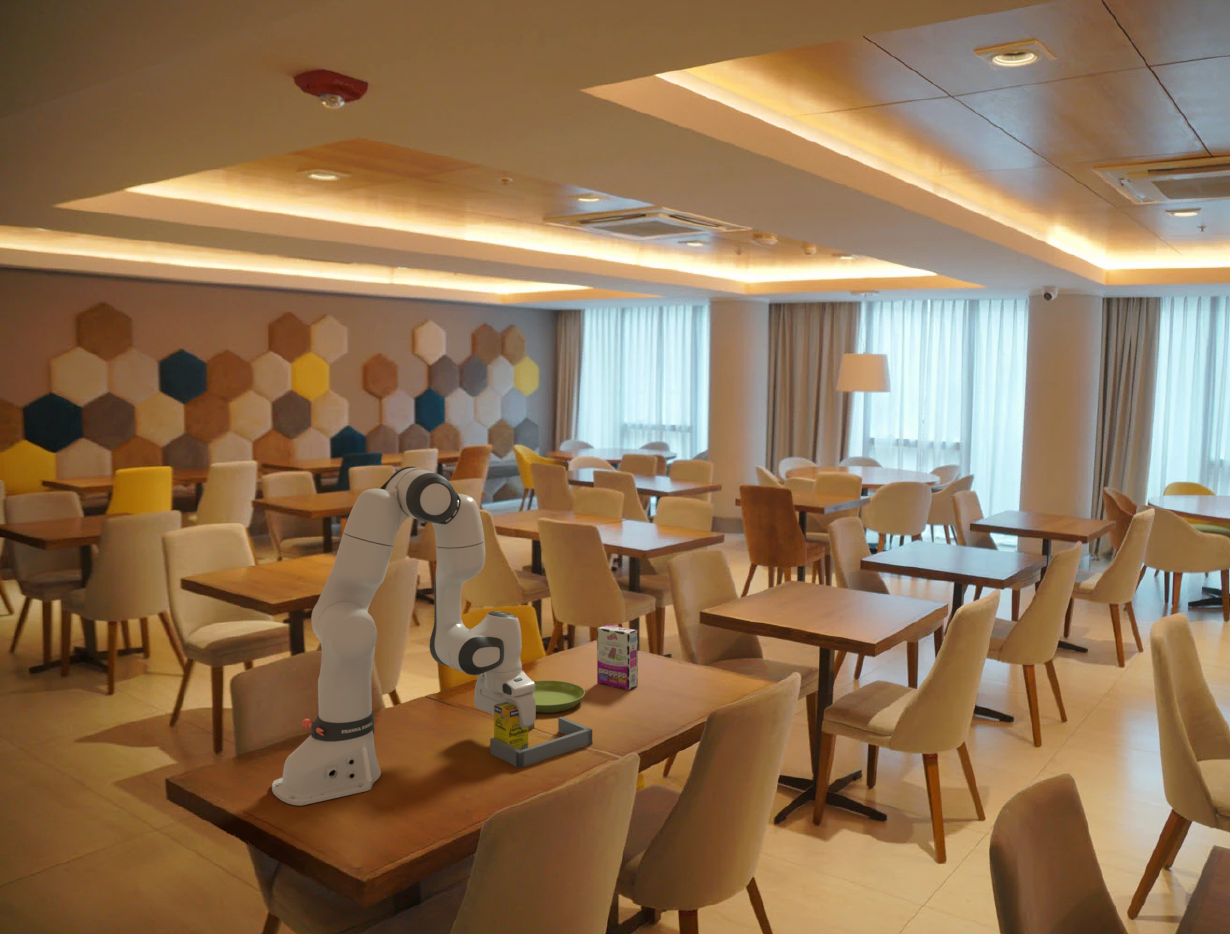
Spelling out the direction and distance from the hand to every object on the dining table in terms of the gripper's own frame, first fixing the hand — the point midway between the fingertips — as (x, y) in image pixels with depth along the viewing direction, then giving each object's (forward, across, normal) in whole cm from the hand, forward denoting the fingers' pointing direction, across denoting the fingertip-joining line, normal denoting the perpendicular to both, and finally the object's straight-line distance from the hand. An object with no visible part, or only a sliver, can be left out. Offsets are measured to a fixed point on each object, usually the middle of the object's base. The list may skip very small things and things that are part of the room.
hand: (504, 735), depth 224 cm
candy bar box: (+2, -13, +49) cm, 51 cm away
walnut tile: (+2, -5, +9) cm, 10 cm away
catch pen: (+2, +9, +4) cm, 10 cm away
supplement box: (+2, +5, -2) cm, 6 cm away
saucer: (+2, -15, +25) cm, 29 cm away
